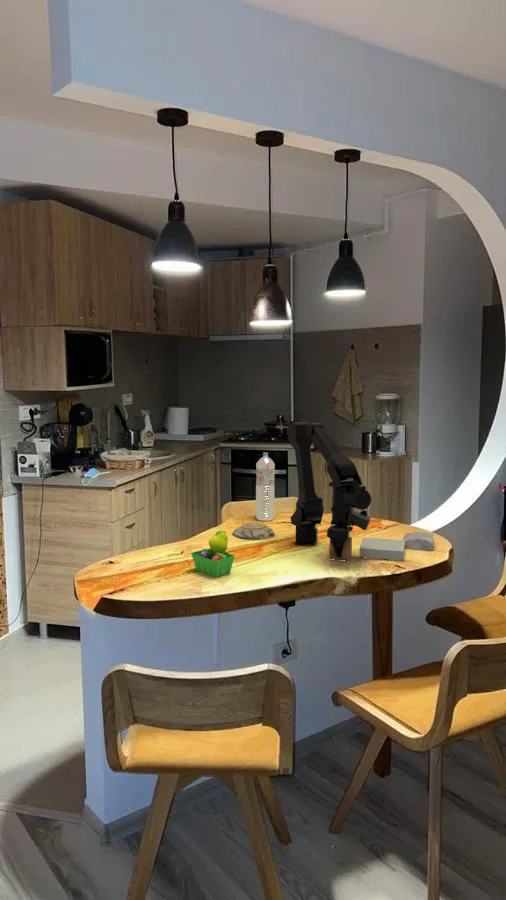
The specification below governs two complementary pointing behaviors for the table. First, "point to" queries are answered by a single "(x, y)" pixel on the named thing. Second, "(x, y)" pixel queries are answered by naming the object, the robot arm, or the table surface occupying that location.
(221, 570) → the fruit basket
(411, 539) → the stone block
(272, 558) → the table surface
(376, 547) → the tile
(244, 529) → the decorative bowl
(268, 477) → the water bottle
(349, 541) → the cube
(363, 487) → the robot arm
